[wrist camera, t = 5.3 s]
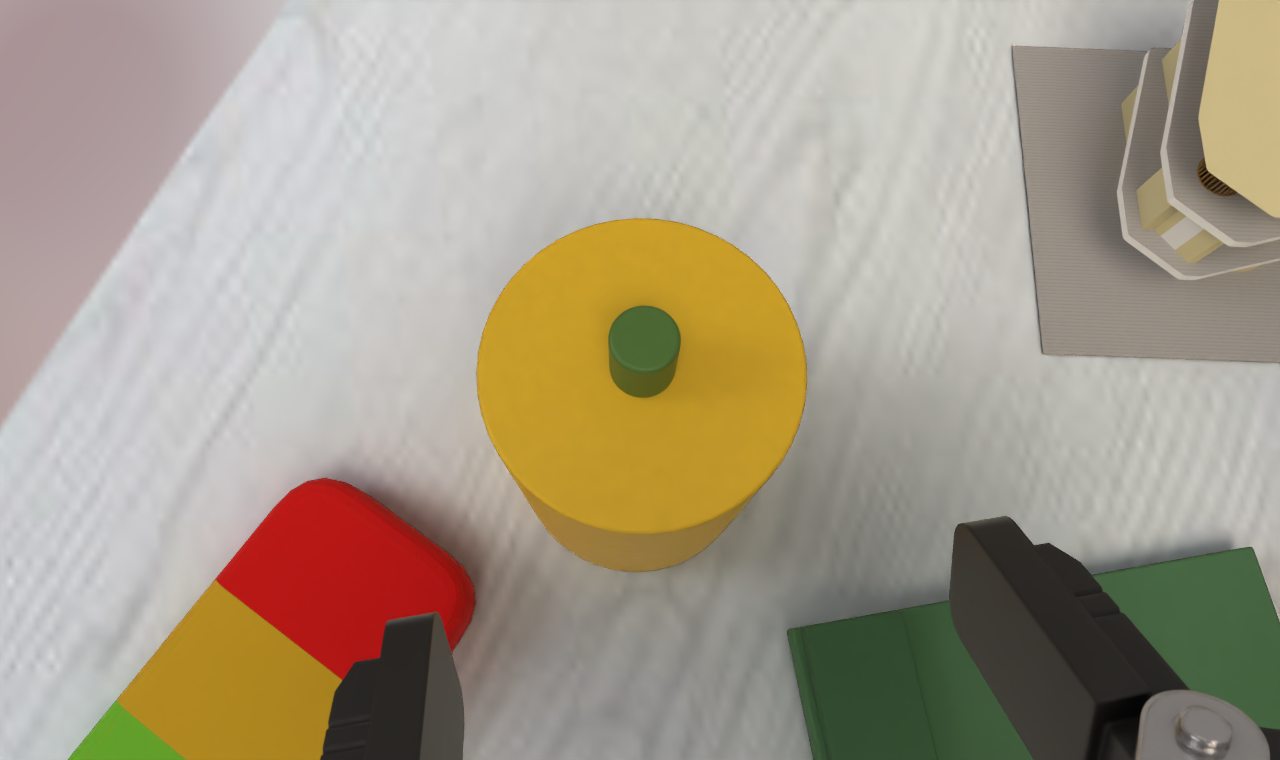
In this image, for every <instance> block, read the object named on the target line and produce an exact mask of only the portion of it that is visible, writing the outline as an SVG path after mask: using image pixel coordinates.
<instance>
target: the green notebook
mask: <svg viewBox="0 0 1280 760" xmlns="http://www.w3.org/2000/svg"><path fill="white" fill-rule="evenodd" d="M1092 576H1093V577H1094V579H1095V580H1096V581H1097V582H1098V583H1099V584H1100V586H1101V587H1102V591H1103V592H1104V593H1105V592H1106V593H1107V594H1108V595H1109V596H1110V597H1111V598H1112V599H1113V601H1114V602H1115V603H1116V604H1117V605H1118V606H1119V608H1120V612H1121V613H1125V615H1126V616H1127V617H1128V618H1129V619H1130V620H1131V622H1132V623H1133V624H1134V625H1135V626H1136V627H1137V629H1138V630H1139V631H1140V632H1141V633H1142V634H1143V636H1144V637H1145V638H1146V639H1147V640H1148V641H1149V642H1150V644H1151V645H1152V646H1153V647H1154V648H1155V649H1156V651H1157V652H1158V653H1159V654H1160V655H1161V656H1162V658H1163V659H1164V660H1165V661H1166V662H1167V663H1168V665H1169V666H1170V667H1171V668H1172V669H1173V670H1174V672H1175V673H1176V674H1177V675H1178V676H1179V677H1180V678H1181V680H1182V681H1183V682H1184V683H1185V684H1186V685H1187V687H1188V688H1189V689H1190V690H1191V691H1197V692H1202V693H1206V694H1209V695H1212V696H1215V697H1217V698H1220V699H1222V700H1224V701H1226V702H1228V703H1230V704H1232V705H1233V706H1235V707H1237V708H1238V709H1240V710H1241V711H1242V712H1244V713H1245V714H1246V715H1247V716H1248V717H1250V718H1251V719H1252V720H1253V721H1254V722H1255V723H1256V725H1257V726H1259V727H1264V728H1271V729H1279V730H1280V622H1279V619H1278V616H1277V614H1276V611H1275V608H1274V605H1273V602H1272V600H1271V597H1270V594H1269V591H1268V589H1267V586H1266V583H1265V580H1264V577H1263V575H1262V572H1261V569H1260V566H1259V563H1258V561H1257V558H1256V555H1255V552H1254V550H1253V548H1252V547H1245V548H1239V549H1233V550H1227V551H1222V552H1216V553H1211V554H1205V555H1200V556H1194V557H1188V558H1183V559H1177V560H1172V561H1166V562H1161V563H1155V564H1149V565H1144V566H1138V567H1133V568H1127V569H1122V570H1116V571H1111V572H1105V573H1099V574H1094V575H1092ZM787 635H788V640H789V645H790V649H791V654H792V659H793V664H794V668H795V673H796V678H797V683H798V687H799V692H800V697H801V702H802V707H803V711H804V716H805V721H806V726H807V730H808V735H809V740H810V745H811V750H812V754H813V759H814V760H1034V759H1033V758H1032V756H1031V755H1030V753H1029V751H1028V750H1027V748H1026V746H1025V745H1024V743H1023V741H1022V740H1021V738H1020V737H1019V735H1018V733H1017V732H1016V730H1015V728H1014V727H1013V725H1012V723H1011V722H1010V720H1009V718H1008V717H1007V715H1006V714H1005V712H1004V710H1003V709H1002V707H1001V705H1000V704H999V702H998V700H997V699H996V697H995V696H994V694H993V692H992V691H991V689H990V687H989V686H988V684H987V682H986V681H985V679H984V678H983V676H982V674H981V673H980V671H979V669H978V668H977V666H976V664H975V663H974V661H973V659H972V658H971V656H970V655H969V653H968V651H967V650H966V648H965V646H964V645H963V643H962V641H961V640H960V638H959V636H958V634H957V632H956V629H955V627H954V624H953V620H952V616H951V612H950V605H949V601H943V602H938V603H932V604H927V605H921V606H916V607H910V608H904V609H899V610H893V611H888V612H882V613H877V614H871V615H865V616H860V617H854V618H849V619H843V620H838V621H832V622H827V623H821V624H815V625H810V626H804V627H799V628H793V629H789V630H787Z"/></svg>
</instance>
